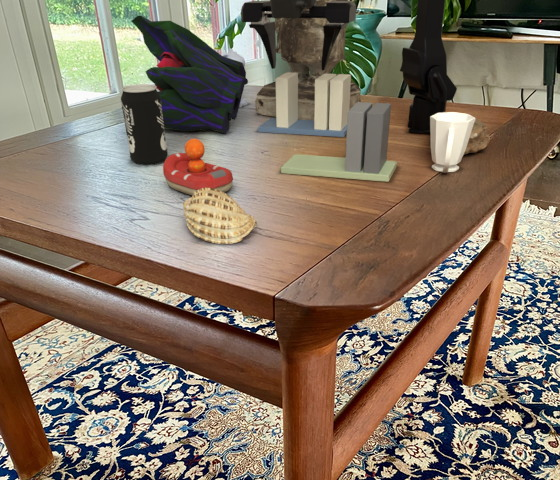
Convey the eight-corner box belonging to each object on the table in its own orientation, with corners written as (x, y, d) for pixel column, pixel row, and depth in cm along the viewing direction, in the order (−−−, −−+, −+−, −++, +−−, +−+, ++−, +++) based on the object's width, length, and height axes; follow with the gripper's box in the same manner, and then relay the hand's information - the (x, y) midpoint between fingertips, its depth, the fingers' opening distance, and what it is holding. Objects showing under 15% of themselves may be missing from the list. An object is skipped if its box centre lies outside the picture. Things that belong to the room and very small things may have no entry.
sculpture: (254, 114, 132) (247, -49, 114) (294, 101, 143) (293, -50, 125) (323, 124, 123) (328, -51, 106) (361, 109, 134) (370, -51, 117)
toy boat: (193, 176, 96) (188, 127, 92) (241, 191, 90) (238, 139, 85) (156, 187, 92) (148, 137, 87) (204, 204, 85) (199, 151, 81)
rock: (489, 162, 99) (495, 131, 96) (425, 159, 102) (429, 128, 99) (486, 141, 110) (491, 113, 107) (428, 139, 112) (431, 111, 109)
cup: (466, 163, 99) (475, 112, 94) (467, 181, 91) (476, 127, 87) (424, 161, 101) (430, 111, 96) (422, 179, 93) (428, 125, 88)
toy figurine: (240, 109, 137) (237, 51, 130) (217, 107, 139) (212, 50, 132) (254, 103, 142) (251, 47, 135) (231, 101, 144) (228, 46, 137)
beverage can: (160, 167, 101) (150, 91, 94) (125, 165, 102) (112, 90, 95) (173, 156, 106) (164, 84, 99) (139, 154, 107) (128, 83, 100)
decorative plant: (217, 184, 121) (85, 138, 122) (260, 108, 133) (138, 66, 134) (219, 99, 103) (63, 45, 104) (268, 18, 114) (128, -28, 116)
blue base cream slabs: (352, 127, 121) (355, 74, 115) (343, 137, 114) (346, 81, 109) (270, 122, 125) (269, 71, 119) (258, 131, 119) (256, 78, 113)
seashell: (248, 241, 81) (181, 210, 80) (265, 203, 78) (196, 170, 76) (240, 265, 75) (167, 232, 73) (258, 225, 72) (182, 189, 70)
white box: (298, 120, 123) (298, 72, 117) (288, 128, 117) (287, 78, 112) (286, 119, 123) (286, 72, 118) (276, 127, 118) (275, 78, 113)
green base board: (396, 167, 98) (402, 103, 92) (388, 182, 92) (394, 114, 86) (294, 159, 103) (294, 98, 97) (280, 173, 97) (279, 108, 91)
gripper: (225, -37, 90) (232, 75, 99) (343, -39, 85) (339, 79, 94) (250, -39, 98) (254, 65, 107) (359, -41, 93) (353, 68, 102)
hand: (298, 69), depth 103 cm, fingers open, 9 cm apart
